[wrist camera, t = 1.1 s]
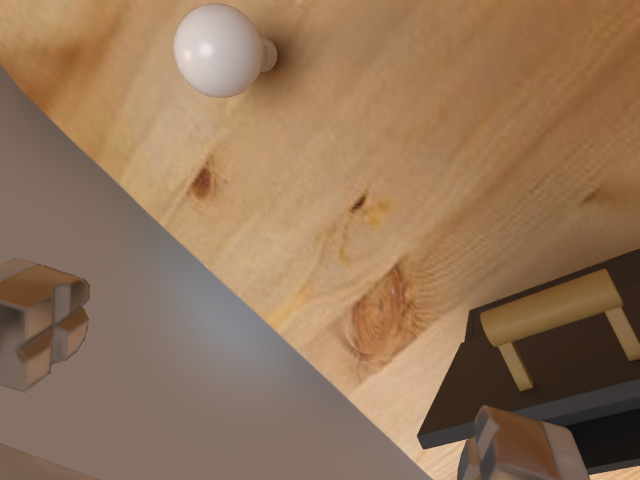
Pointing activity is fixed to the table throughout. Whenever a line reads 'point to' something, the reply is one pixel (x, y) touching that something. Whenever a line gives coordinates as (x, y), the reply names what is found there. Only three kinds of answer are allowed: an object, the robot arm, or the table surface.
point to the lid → (543, 358)
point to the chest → (602, 422)
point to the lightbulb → (220, 50)
